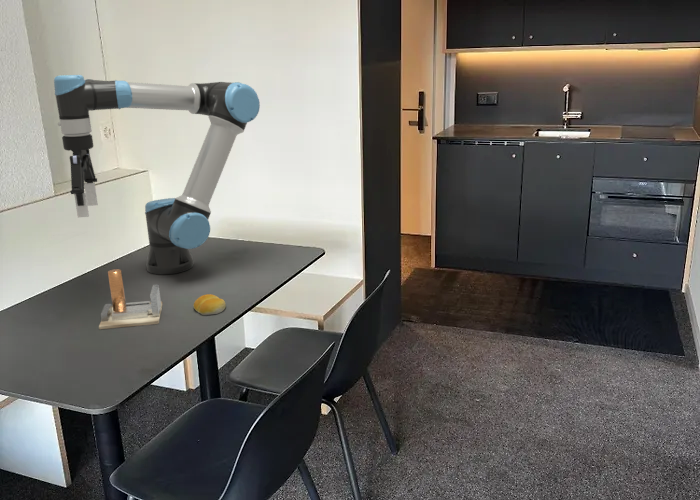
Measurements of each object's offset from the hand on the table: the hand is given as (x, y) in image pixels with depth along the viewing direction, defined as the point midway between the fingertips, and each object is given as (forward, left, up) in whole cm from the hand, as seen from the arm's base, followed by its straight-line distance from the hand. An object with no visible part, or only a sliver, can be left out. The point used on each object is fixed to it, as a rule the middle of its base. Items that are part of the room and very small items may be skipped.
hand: (88, 210), depth 179 cm
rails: (+15, +9, -26) cm, 31 cm away
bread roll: (+15, +31, -27) cm, 44 cm away
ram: (+15, +12, -26) cm, 32 cm away
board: (+15, +10, -27) cm, 32 cm away
